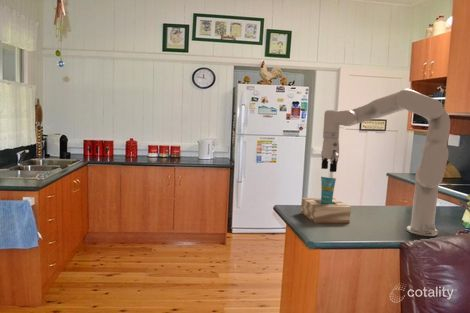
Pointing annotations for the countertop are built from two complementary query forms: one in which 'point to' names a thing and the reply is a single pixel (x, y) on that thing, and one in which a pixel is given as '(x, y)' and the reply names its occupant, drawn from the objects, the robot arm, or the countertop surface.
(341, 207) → the socket block
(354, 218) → the countertop surface
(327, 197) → the tube
